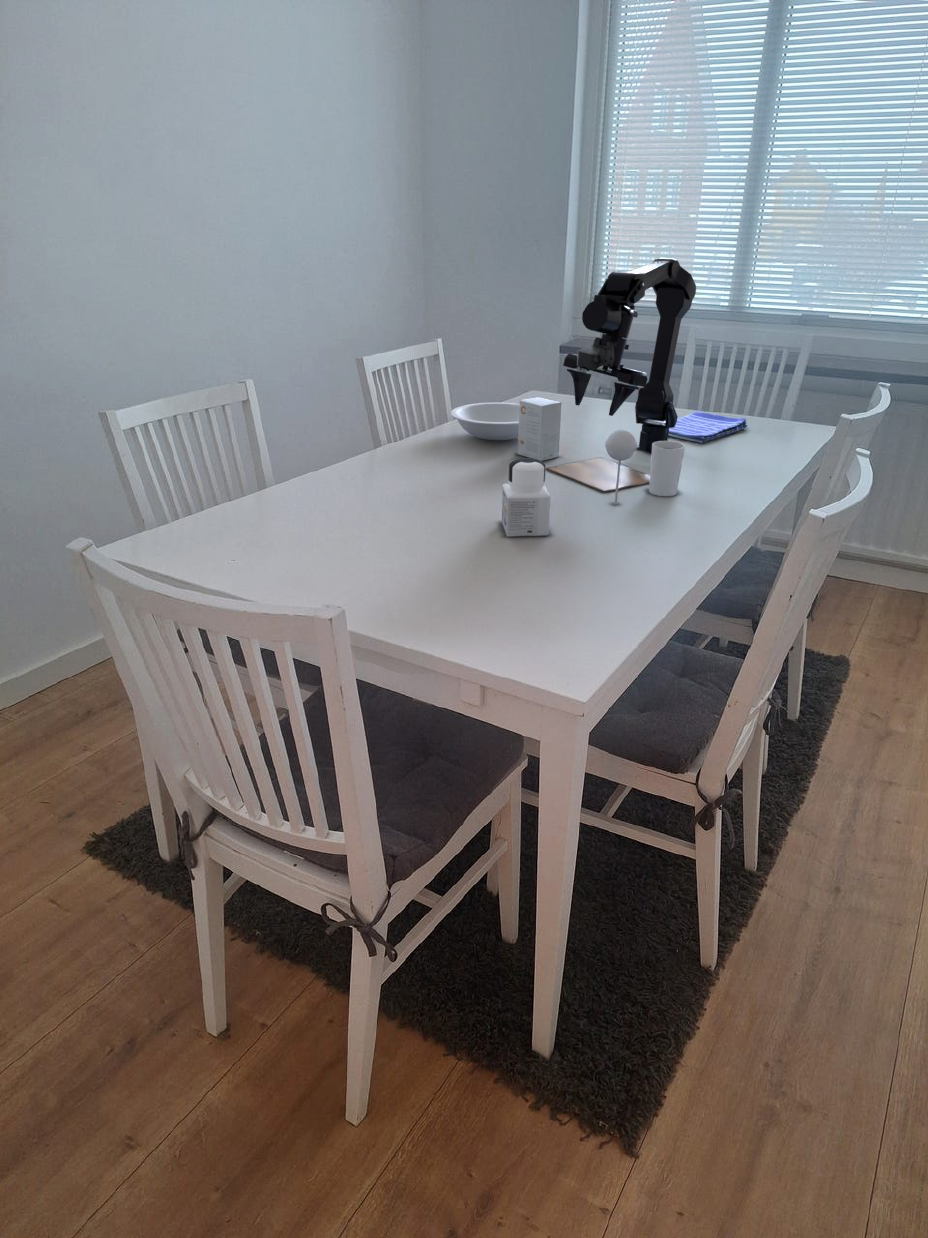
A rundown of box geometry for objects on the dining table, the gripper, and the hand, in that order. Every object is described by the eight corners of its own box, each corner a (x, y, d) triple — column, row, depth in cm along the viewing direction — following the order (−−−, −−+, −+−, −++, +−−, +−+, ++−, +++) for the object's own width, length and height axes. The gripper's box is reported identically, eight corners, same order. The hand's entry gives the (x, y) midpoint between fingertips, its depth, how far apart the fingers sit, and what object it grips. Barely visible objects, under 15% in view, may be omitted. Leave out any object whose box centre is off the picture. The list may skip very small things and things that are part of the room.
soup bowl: (485, 422, 225) (485, 398, 222) (560, 435, 213) (562, 410, 210) (432, 440, 208) (431, 414, 205) (511, 455, 195) (511, 428, 192)
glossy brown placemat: (600, 459, 193) (600, 457, 193) (660, 480, 178) (660, 479, 178) (546, 469, 186) (546, 467, 185) (604, 492, 170) (604, 490, 170)
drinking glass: (682, 489, 173) (688, 443, 168) (675, 498, 167) (681, 450, 163) (650, 485, 175) (656, 439, 171) (643, 494, 170) (648, 446, 165)
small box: (559, 457, 195) (562, 402, 189) (540, 461, 191) (542, 405, 185) (535, 450, 200) (538, 396, 194) (516, 454, 196) (518, 399, 191)
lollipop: (633, 501, 165) (640, 428, 159) (628, 510, 160) (636, 435, 154) (603, 498, 167) (609, 425, 160) (597, 507, 162) (603, 432, 155)
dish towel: (748, 428, 221) (750, 418, 219) (703, 444, 206) (704, 433, 204) (693, 418, 232) (694, 408, 230) (645, 432, 217) (647, 421, 215)
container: (501, 522, 154) (503, 455, 148) (541, 521, 155) (545, 454, 149) (506, 537, 147) (508, 467, 141) (548, 536, 148) (552, 466, 142)
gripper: (557, 322, 171) (538, 397, 176) (629, 339, 160) (607, 418, 165) (587, 329, 179) (569, 401, 184) (658, 346, 168) (636, 422, 173)
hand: (593, 410), depth 176 cm, fingers open, 9 cm apart
